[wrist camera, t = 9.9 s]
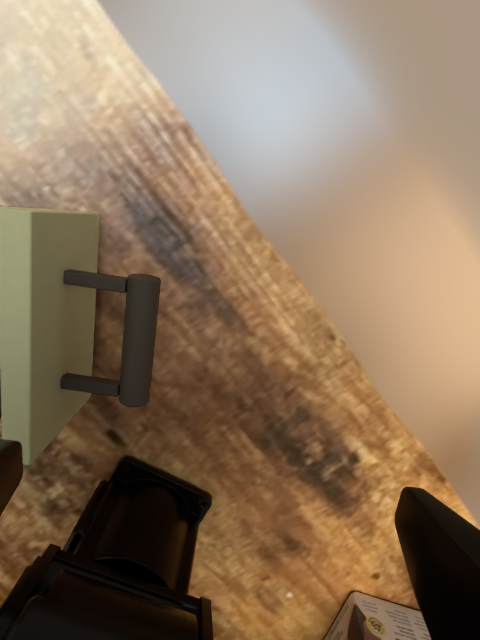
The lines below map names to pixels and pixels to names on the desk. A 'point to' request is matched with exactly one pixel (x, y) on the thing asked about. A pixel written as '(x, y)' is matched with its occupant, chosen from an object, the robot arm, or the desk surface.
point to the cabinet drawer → (62, 324)
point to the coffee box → (377, 621)
